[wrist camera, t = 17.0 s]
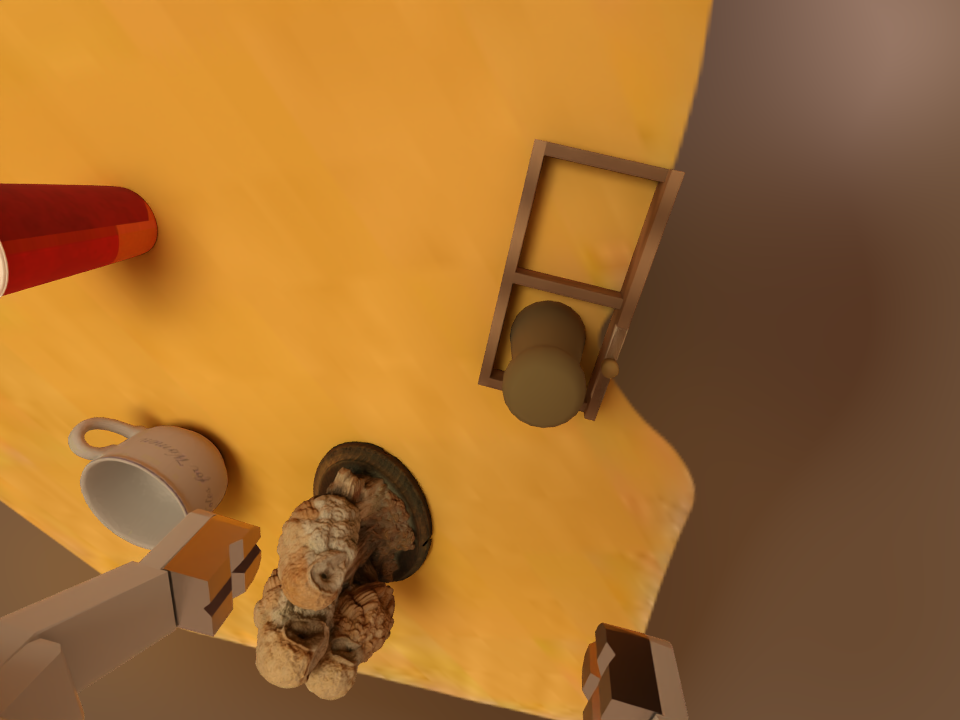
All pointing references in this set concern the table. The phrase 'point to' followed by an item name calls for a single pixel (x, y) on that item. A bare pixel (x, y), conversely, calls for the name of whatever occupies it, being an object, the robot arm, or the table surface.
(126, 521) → the teacup
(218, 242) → the table surface
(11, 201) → the paper cup
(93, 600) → the robot arm
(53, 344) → the table surface
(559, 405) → the cork
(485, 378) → the wooden divided frame
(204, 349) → the table surface
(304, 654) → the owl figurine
